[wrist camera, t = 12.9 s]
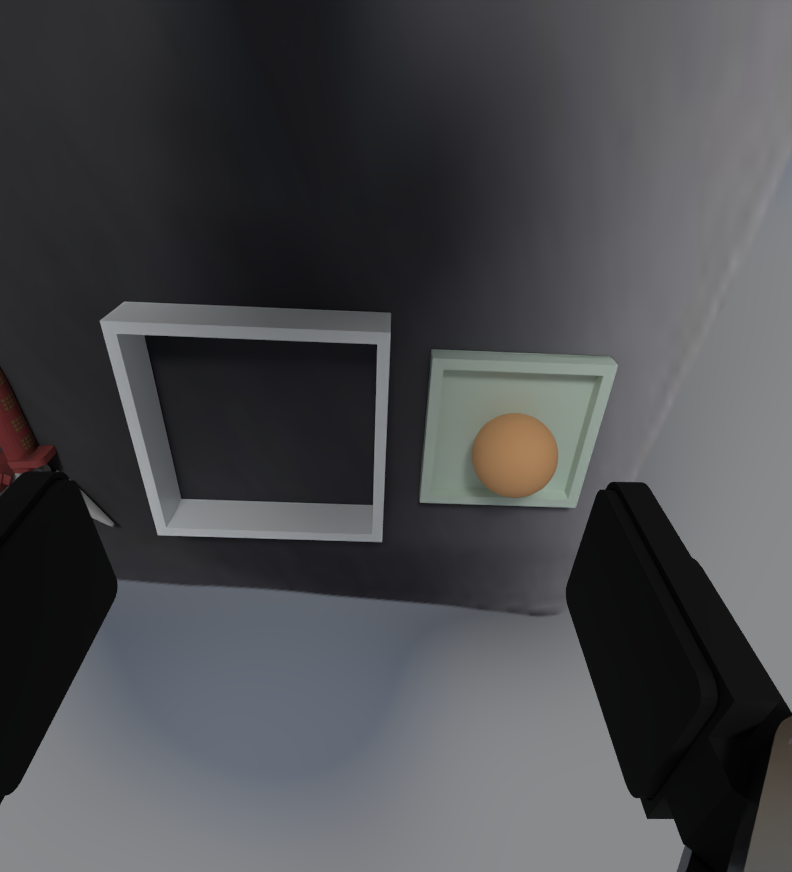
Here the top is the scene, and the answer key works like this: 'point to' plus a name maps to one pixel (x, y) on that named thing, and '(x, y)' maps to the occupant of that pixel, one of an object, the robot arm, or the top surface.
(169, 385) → the top surface
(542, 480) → the ball
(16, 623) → the robot arm
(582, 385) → the tray
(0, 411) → the pliers
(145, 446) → the grey square frame
